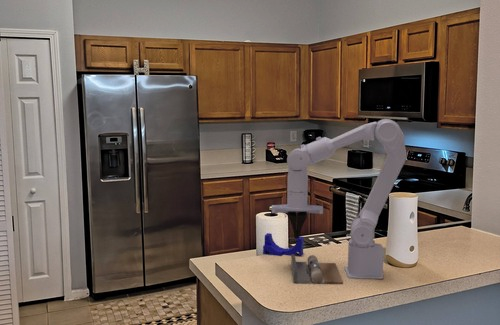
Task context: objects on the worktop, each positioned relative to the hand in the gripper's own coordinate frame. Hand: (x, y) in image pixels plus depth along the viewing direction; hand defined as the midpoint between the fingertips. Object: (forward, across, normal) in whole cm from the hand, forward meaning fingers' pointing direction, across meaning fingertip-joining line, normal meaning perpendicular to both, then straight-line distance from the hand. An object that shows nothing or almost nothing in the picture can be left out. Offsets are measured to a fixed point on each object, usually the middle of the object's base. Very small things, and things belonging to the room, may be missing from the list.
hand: (296, 237), depth 138 cm
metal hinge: (+9, -3, +4) cm, 10 cm away
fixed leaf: (+9, -8, +4) cm, 13 cm away
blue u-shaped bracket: (+10, +3, -13) cm, 17 cm away
